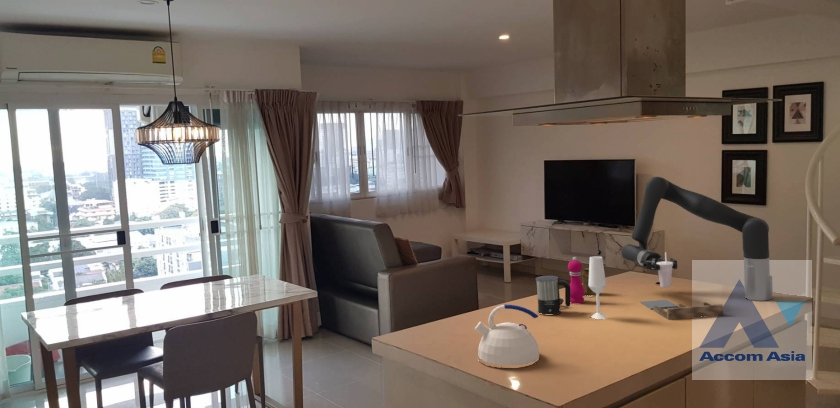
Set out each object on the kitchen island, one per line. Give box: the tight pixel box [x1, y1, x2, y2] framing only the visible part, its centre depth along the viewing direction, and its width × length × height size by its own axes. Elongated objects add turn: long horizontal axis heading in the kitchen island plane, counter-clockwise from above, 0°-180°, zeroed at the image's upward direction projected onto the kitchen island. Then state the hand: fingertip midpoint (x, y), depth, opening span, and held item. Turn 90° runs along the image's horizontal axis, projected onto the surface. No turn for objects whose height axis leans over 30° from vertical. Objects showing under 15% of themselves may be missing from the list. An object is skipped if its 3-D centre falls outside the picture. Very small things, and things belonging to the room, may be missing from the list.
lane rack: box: [653, 301, 724, 321], centre depth 233 cm, size 21×13×4 cm, turn 92°
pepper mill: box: [567, 256, 585, 304], centre depth 261 cm, size 7×7×20 cm
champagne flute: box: [588, 255, 608, 320], centre depth 234 cm, size 7×7×24 cm
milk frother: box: [535, 275, 571, 315], centre depth 250 cm, size 14×16×15 cm
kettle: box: [474, 304, 541, 365], centre depth 195 cm, size 20×21×18 cm
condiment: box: [581, 267, 601, 298], centre depth 273 cm, size 7×8×12 cm
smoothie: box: [656, 251, 673, 289], centre depth 239 cm, size 6×6×14 cm
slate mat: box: [640, 299, 679, 310], centre depth 247 cm, size 11×11×1 cm
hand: (667, 267), depth 237 cm, fingers closed on smoothie, 6 cm apart
